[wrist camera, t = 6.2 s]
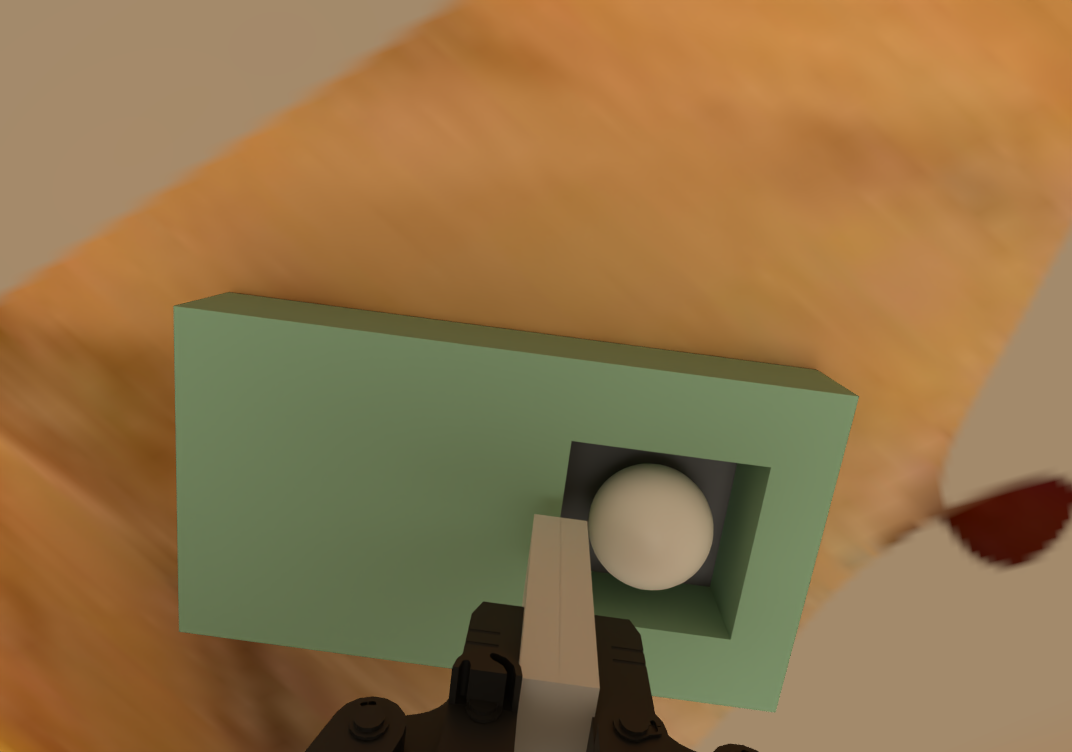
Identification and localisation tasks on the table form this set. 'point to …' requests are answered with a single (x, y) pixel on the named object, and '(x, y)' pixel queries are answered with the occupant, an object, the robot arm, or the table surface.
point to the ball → (650, 526)
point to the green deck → (483, 483)
